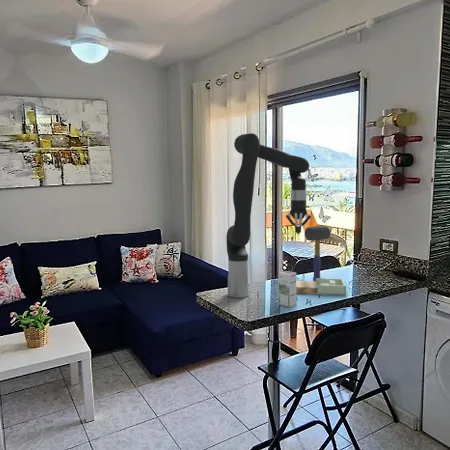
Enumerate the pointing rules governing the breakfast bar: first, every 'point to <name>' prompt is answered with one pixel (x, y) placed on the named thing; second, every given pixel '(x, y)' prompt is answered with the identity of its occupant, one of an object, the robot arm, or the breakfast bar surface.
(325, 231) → the rubber mallet
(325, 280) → the tray
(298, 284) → the board
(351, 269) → the breakfast bar surface
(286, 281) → the syrup box
